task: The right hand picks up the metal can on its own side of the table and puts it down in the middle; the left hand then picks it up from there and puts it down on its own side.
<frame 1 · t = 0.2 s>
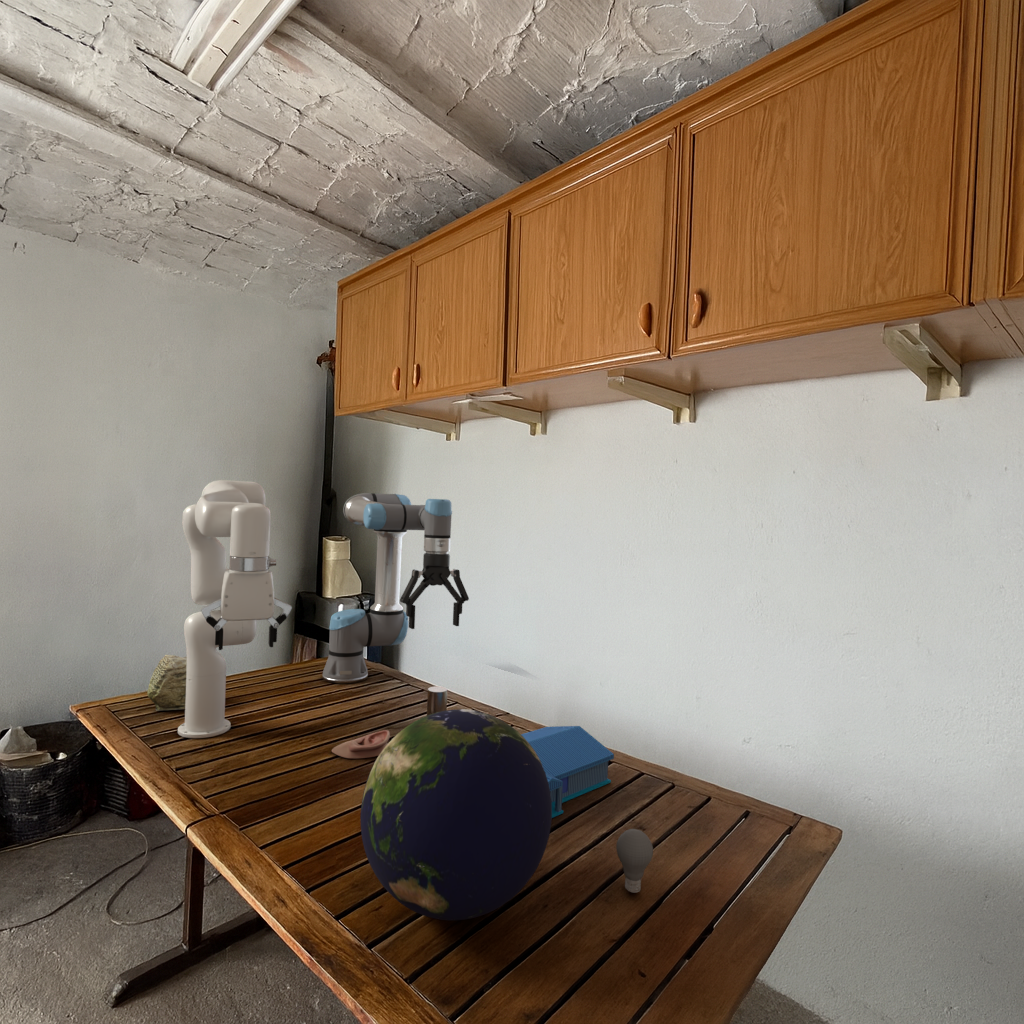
left hand: (246, 647, 131), 32 cm above the table, tool pointing down, fingers open, 9 cm apart
right hand: (434, 626, 181), 27 cm above the table, tool pointing down, fingers open, 13 cm apart
model building: (523, 791, 140), on the table
can: (435, 729, 176), on the table
light bulb: (632, 891, 106), on the table
globe: (453, 903, 101), on the table
anatomical model: (360, 750, 159), on the table
fossil: (183, 706, 185), on the table
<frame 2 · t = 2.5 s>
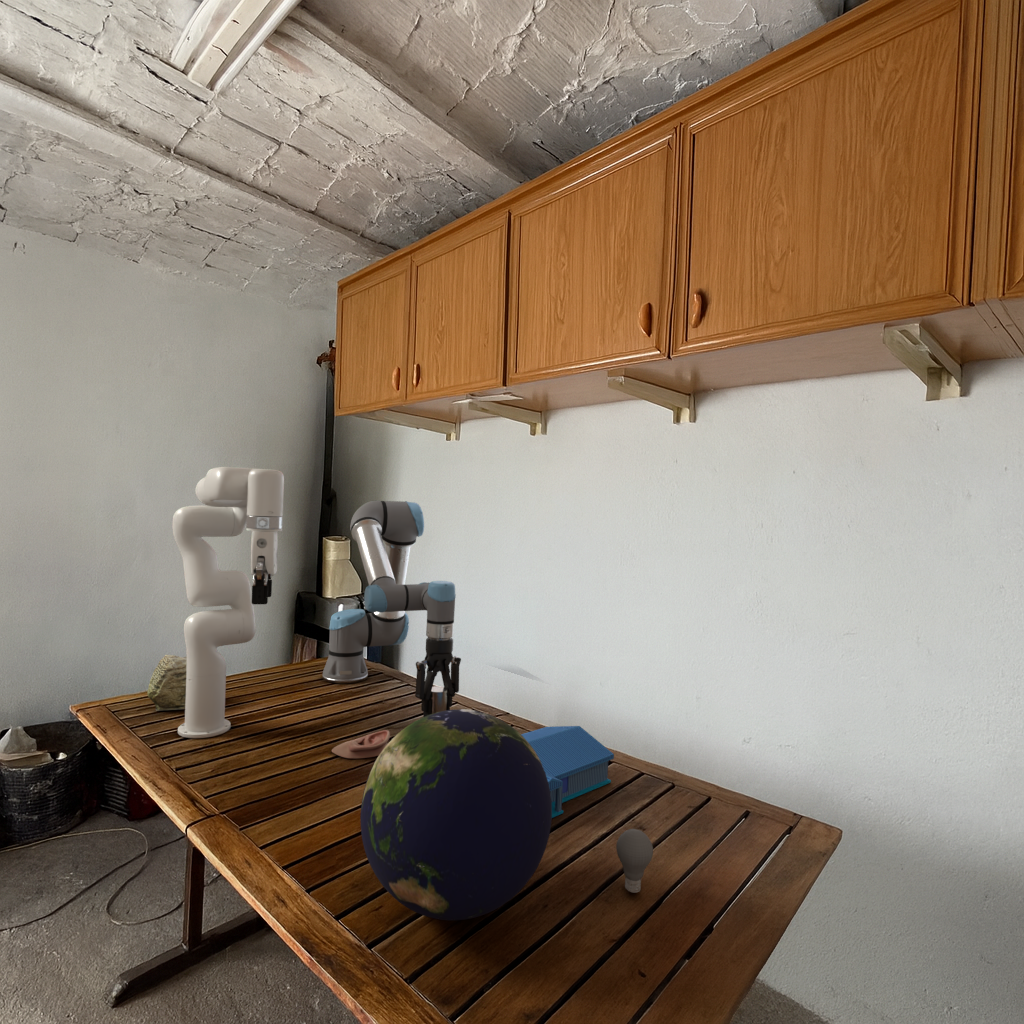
left hand: (261, 600, 142), 40 cm above the table, tool pointing down, fingers open, 9 cm apart
right hand: (436, 720, 176), 2 cm above the table, tool pointing down, fingers closed on can, 5 cm apart
can: (435, 729, 176), on the table, touching right hand
everything else where it was.
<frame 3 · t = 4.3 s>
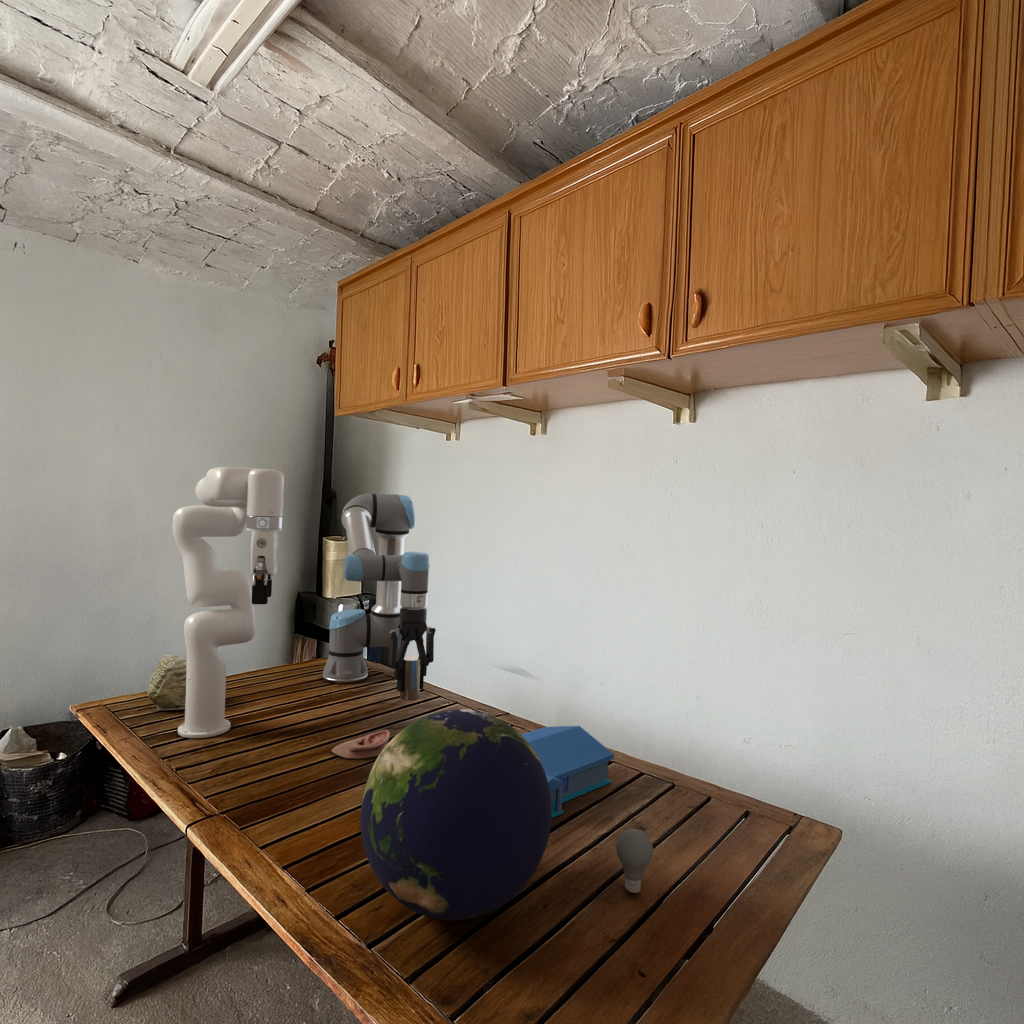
left hand: (261, 600, 142), 40 cm above the table, tool pointing down, fingers open, 9 cm apart
right hand: (409, 689, 178), 10 cm above the table, tool pointing down, fingers closed on can, 5 cm apart
can: (409, 697, 178), point 8 cm above the table, touching right hand
everything else where it was.
when the right hand's fingers open (4 cm above the table, at t = 6.1 s): can drops 2 cm, on the table.
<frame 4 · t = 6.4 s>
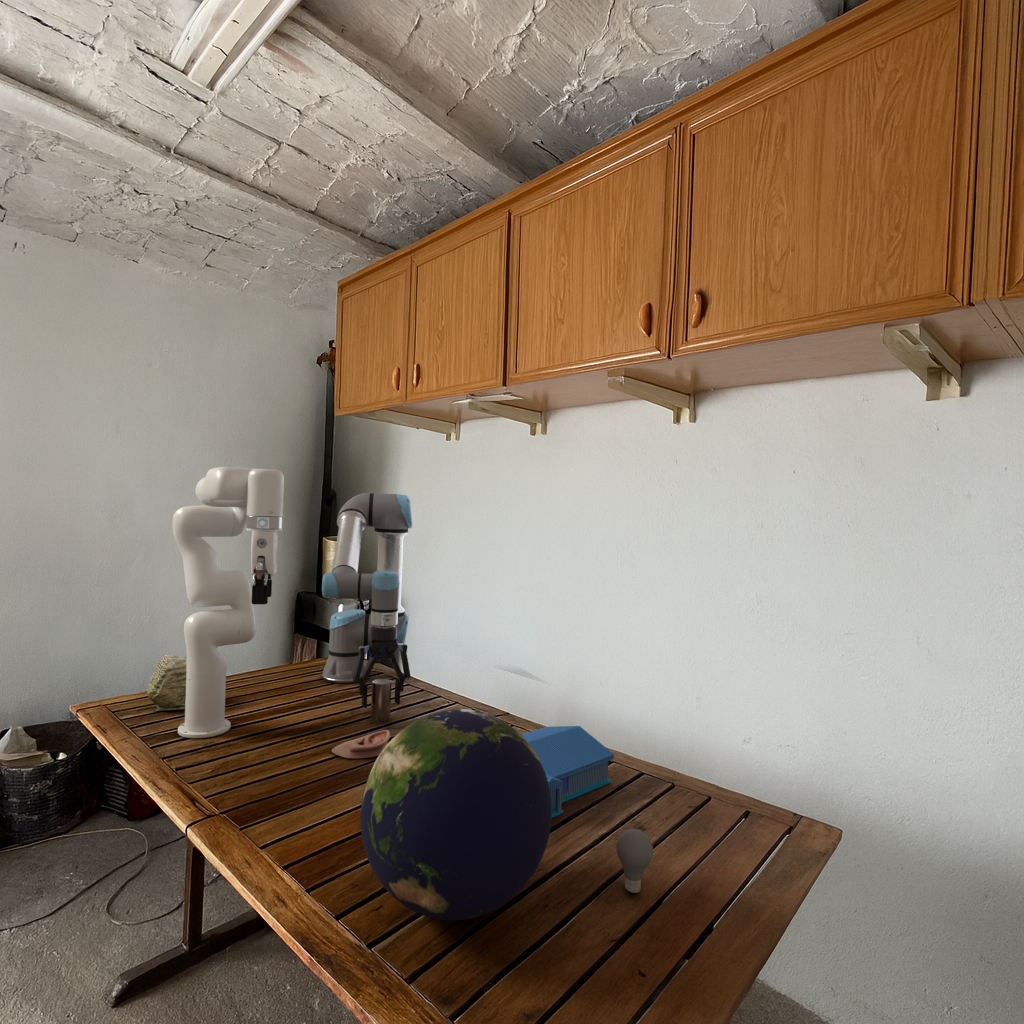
left hand: (261, 600, 142), 40 cm above the table, tool pointing down, fingers open, 9 cm apart
right hand: (380, 704, 180), 5 cm above the table, tool pointing down, fingers open, 9 cm apart
can: (380, 720, 180), on the table
everything else where it was.
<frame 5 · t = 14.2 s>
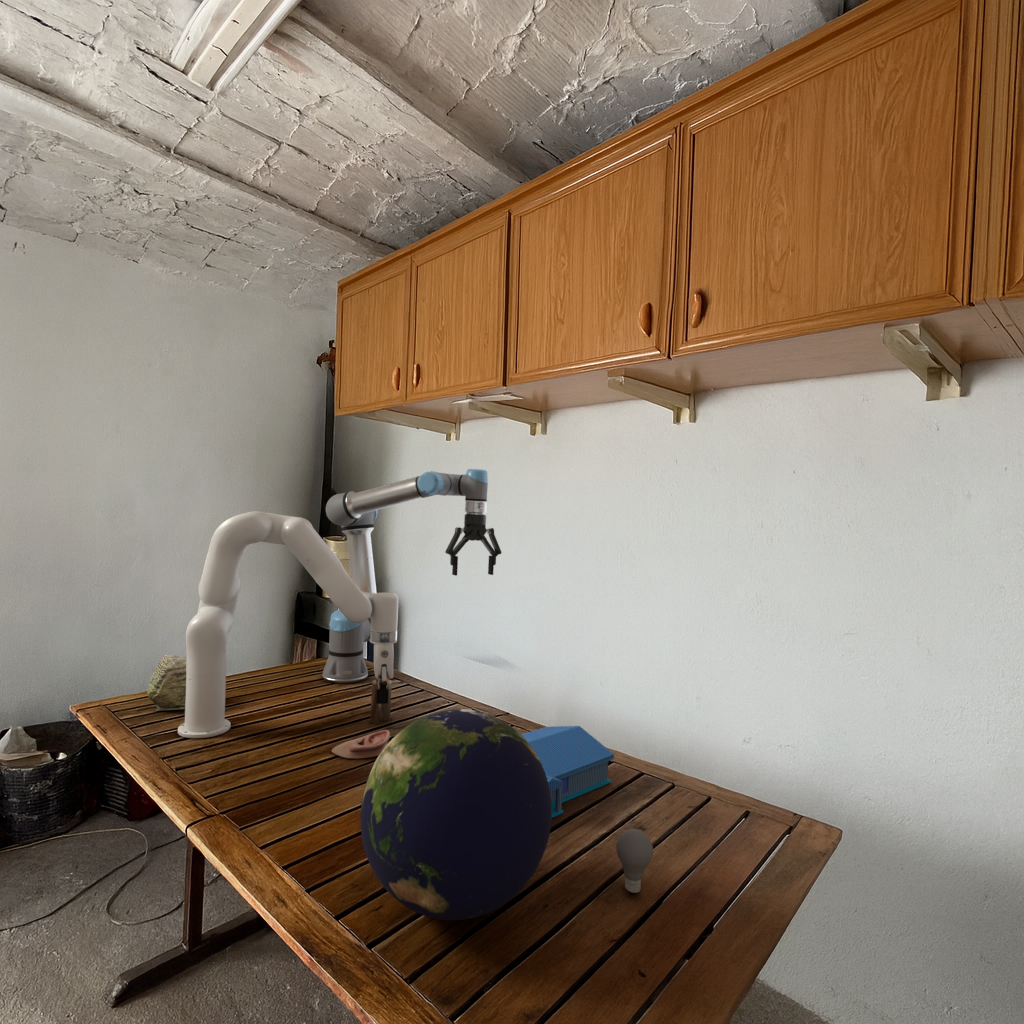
left hand: (381, 699, 180), 6 cm above the table, tool pointing down, fingers closed on can, 5 cm apart
right hand: (472, 574, 220), 38 cm above the table, tool pointing down, fingers open, 13 cm apart
can: (380, 720, 181), on the table, touching left hand
everything else where it was.
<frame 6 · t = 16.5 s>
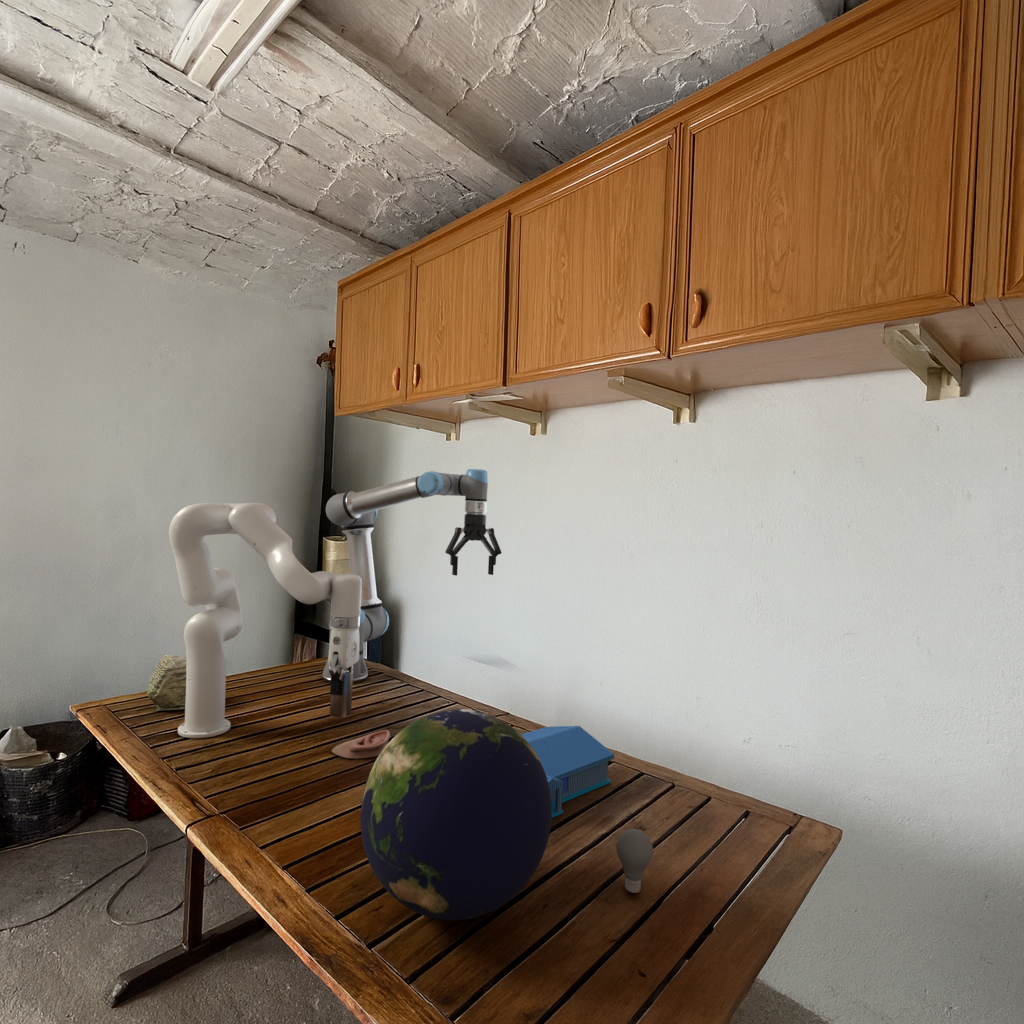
left hand: (341, 690, 165), 13 cm above the table, tool pointing down, fingers closed on can, 5 cm apart
right hand: (472, 574, 220), 38 cm above the table, tool pointing down, fingers open, 13 cm apart
can: (340, 713, 165), point 7 cm above the table, touching left hand
everything else where it was.
when the left hand's fingers open (7 cm above the table, at t = 19.2 s): can drops 1 cm, on the table.
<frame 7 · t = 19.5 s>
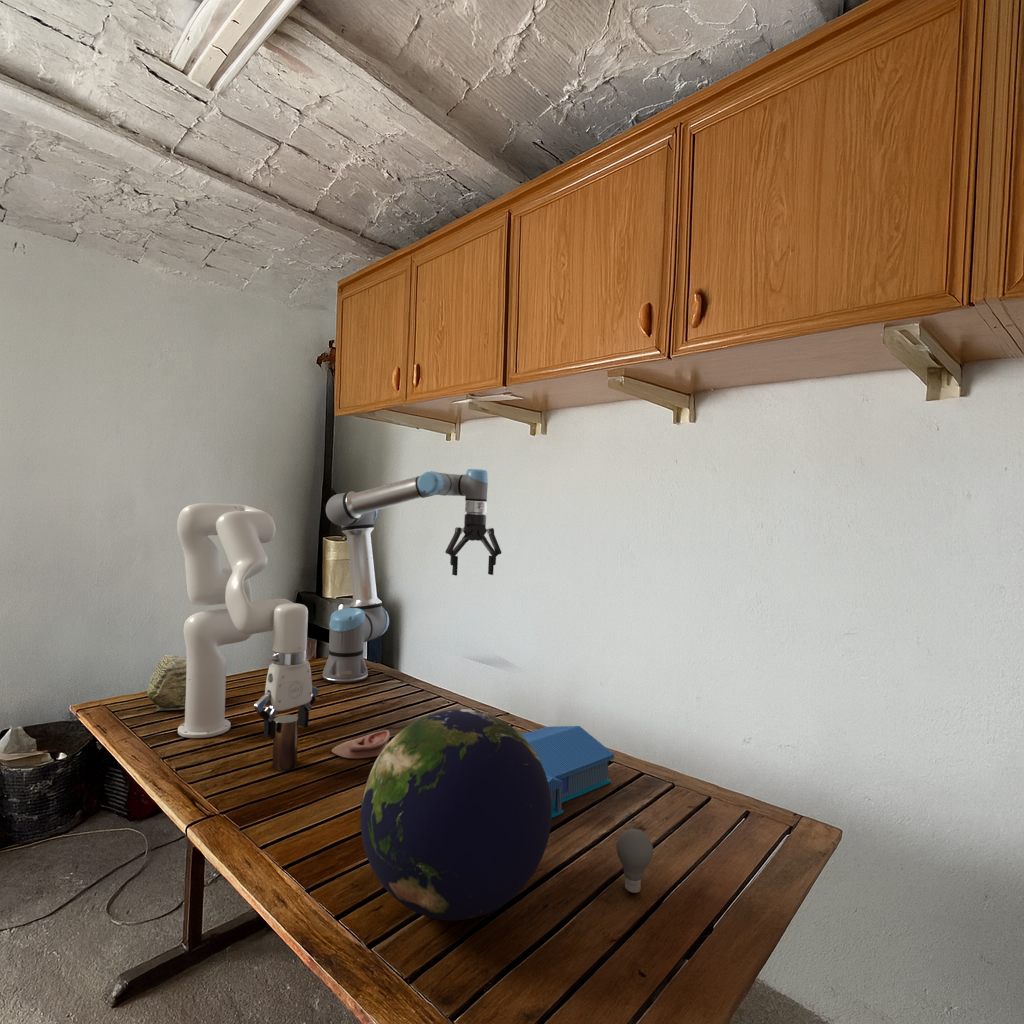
left hand: (286, 731, 148), 8 cm above the table, tool pointing down, fingers open, 8 cm apart
right hand: (472, 574, 220), 38 cm above the table, tool pointing down, fingers open, 13 cm apart
can: (284, 766, 148), on the table
everything else where it was.
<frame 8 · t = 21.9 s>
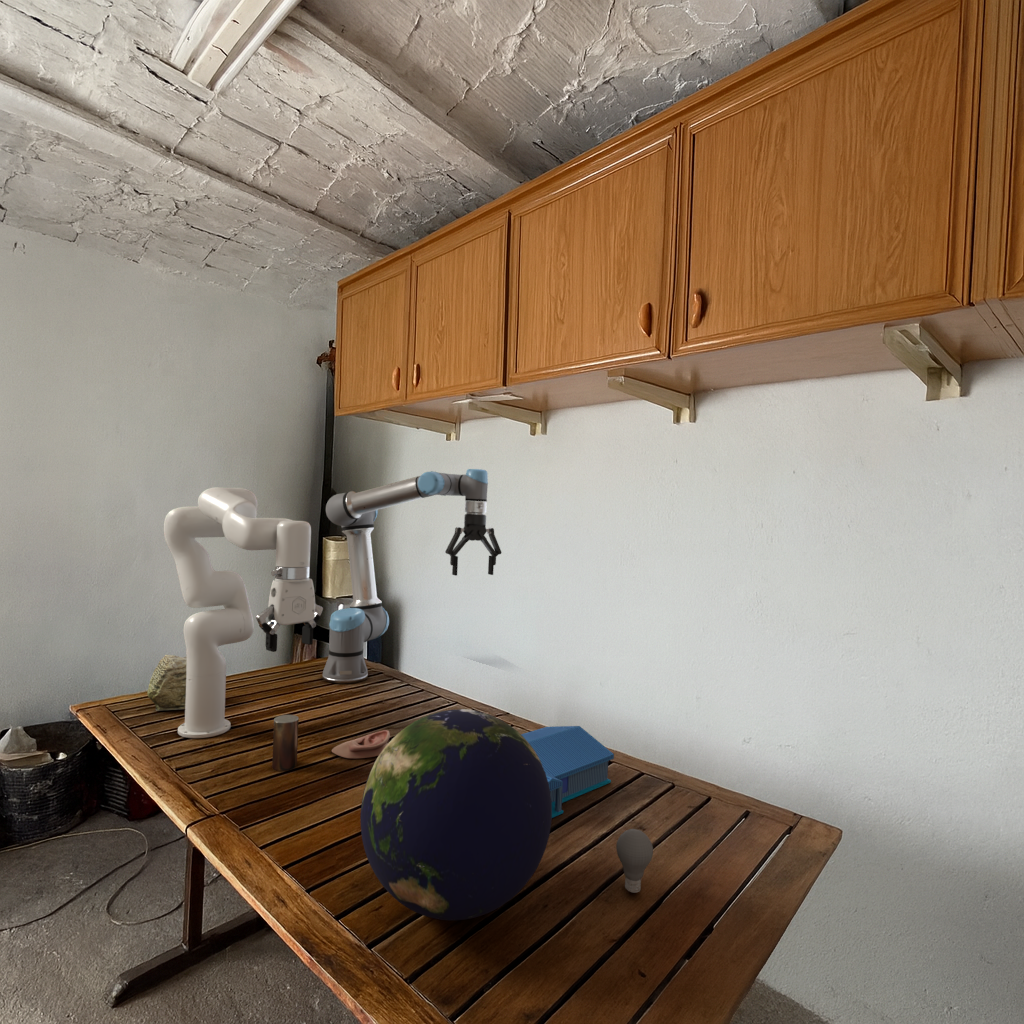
left hand: (289, 647, 147), 28 cm above the table, tool pointing down, fingers open, 9 cm apart
right hand: (472, 574, 220), 38 cm above the table, tool pointing down, fingers open, 13 cm apart
nothing on the table moved.
at the end: can inside the target area (0.2 cm from its centre), on the table; can tilted 0°; the two hands never held the can at the same time; the left hand is holding nothing; the right hand is holding nothing; can at rest at the end (0.0 cm/s) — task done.
